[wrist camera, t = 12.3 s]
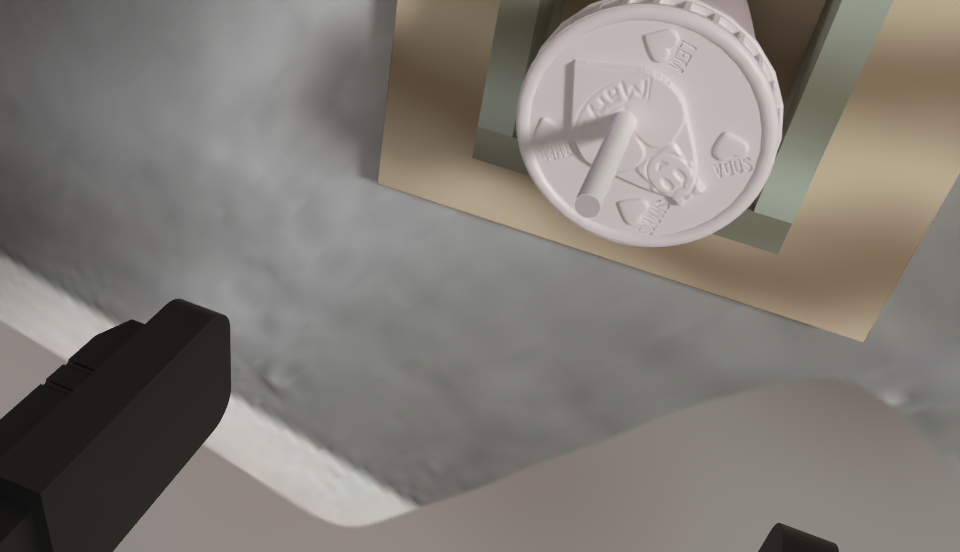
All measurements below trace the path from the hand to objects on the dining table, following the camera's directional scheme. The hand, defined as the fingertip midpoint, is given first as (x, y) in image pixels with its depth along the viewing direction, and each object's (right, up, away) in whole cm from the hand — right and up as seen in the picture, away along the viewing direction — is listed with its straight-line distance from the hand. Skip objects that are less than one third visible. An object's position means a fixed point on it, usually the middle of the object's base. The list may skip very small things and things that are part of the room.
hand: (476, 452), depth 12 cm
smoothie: (+7, +11, +16) cm, 21 cm away
